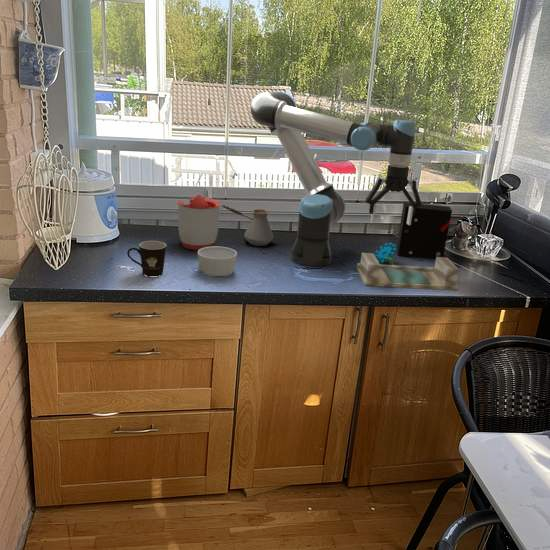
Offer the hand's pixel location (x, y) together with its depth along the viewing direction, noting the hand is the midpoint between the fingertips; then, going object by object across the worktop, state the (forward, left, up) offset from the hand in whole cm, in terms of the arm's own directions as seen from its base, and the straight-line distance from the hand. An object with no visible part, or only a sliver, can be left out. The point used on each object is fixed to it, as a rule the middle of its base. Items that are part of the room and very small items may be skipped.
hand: (390, 223), depth 209 cm
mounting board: (+4, -16, -16) cm, 23 cm away
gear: (0, 0, -16) cm, 16 cm away
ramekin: (-62, -18, -16) cm, 67 cm away
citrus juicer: (-71, +8, -16) cm, 73 cm away
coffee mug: (-84, -23, -16) cm, 89 cm away
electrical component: (+17, +12, -16) cm, 26 cm away
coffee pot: (-52, +15, -16) cm, 56 cm away
